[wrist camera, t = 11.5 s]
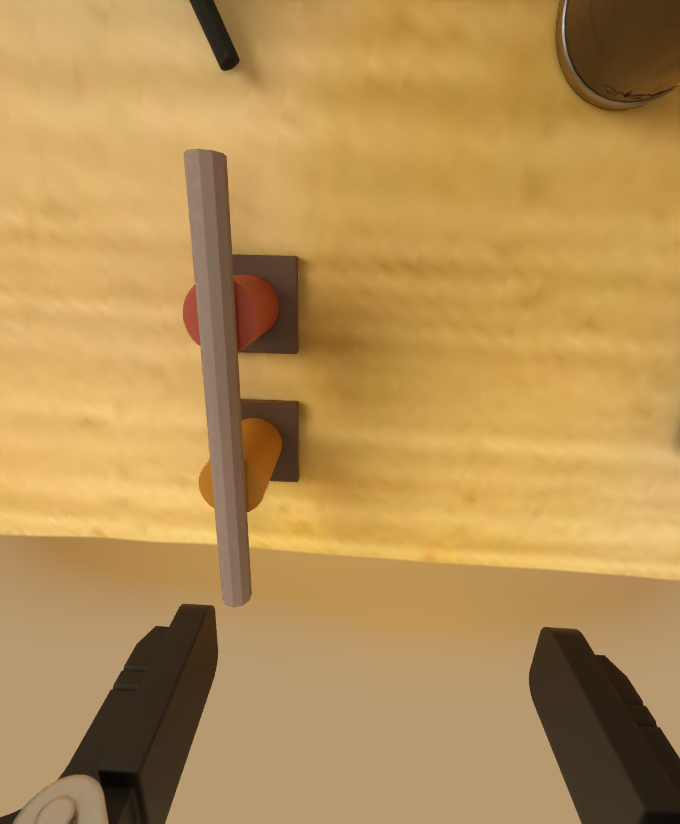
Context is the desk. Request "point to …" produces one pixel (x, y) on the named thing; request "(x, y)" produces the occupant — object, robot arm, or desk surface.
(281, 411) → the ochre post
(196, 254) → the metal rod
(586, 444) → the desk surface
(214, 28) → the handheld radio
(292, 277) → the red peg stand
